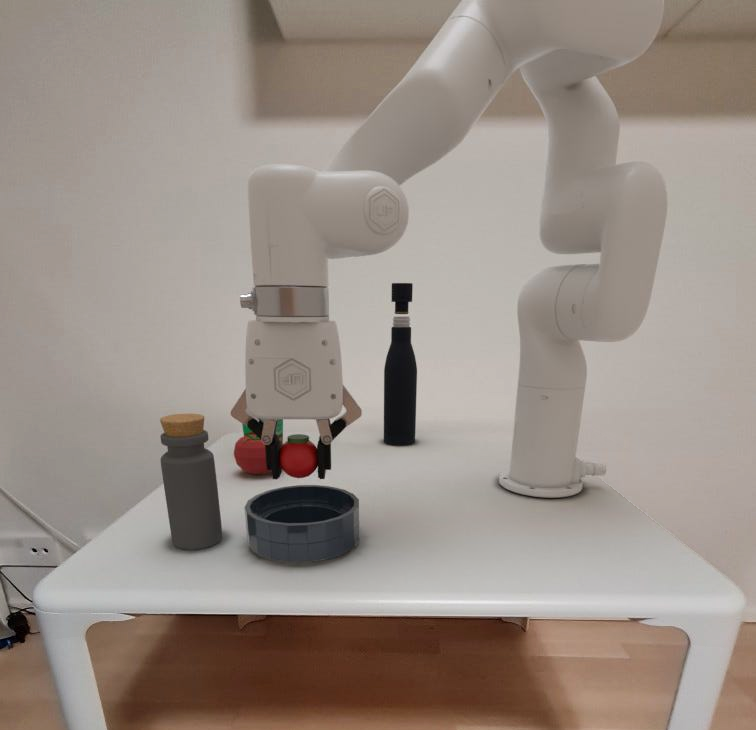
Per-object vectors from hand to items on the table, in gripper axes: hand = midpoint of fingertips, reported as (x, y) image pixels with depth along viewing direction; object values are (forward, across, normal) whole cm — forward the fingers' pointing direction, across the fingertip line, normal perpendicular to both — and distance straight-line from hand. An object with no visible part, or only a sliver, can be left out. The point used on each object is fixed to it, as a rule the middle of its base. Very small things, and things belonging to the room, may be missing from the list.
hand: (299, 474), depth 62 cm
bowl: (+9, 0, 0) cm, 9 cm away
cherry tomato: (0, 0, 0) cm, 0 cm away
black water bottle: (+8, +15, +48) cm, 51 cm away
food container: (+9, -10, +42) cm, 44 cm away
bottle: (+9, -13, +1) cm, 16 cm away
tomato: (+9, -10, +28) cm, 31 cm away
